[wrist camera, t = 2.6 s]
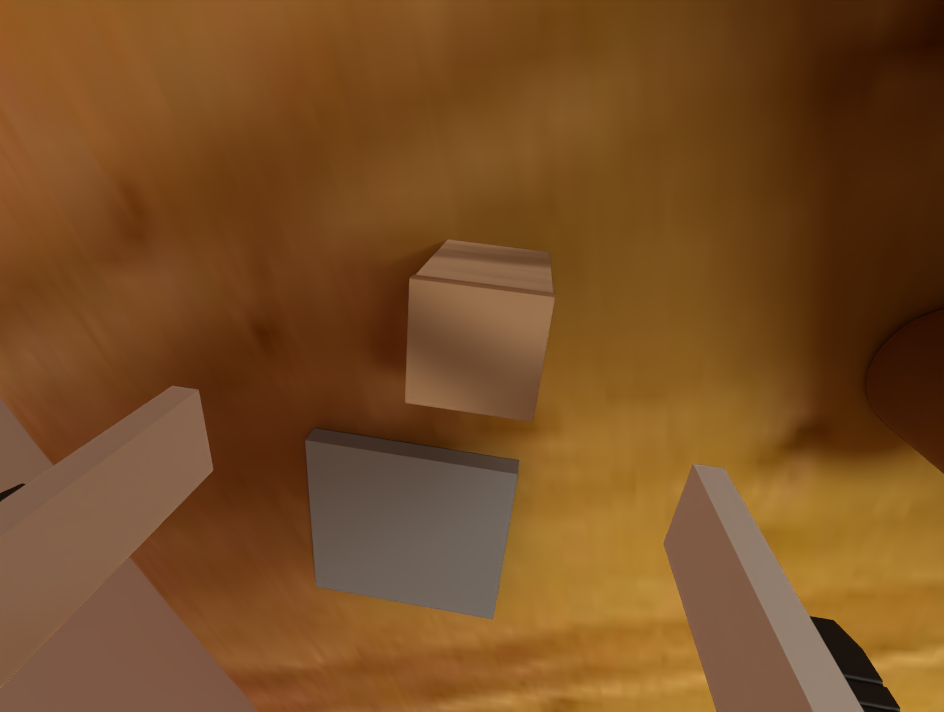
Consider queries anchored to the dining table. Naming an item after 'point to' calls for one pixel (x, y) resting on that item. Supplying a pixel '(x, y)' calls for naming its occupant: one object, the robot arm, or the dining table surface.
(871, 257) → the dining table surface
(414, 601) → the slate board
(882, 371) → the mug
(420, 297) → the oak block
